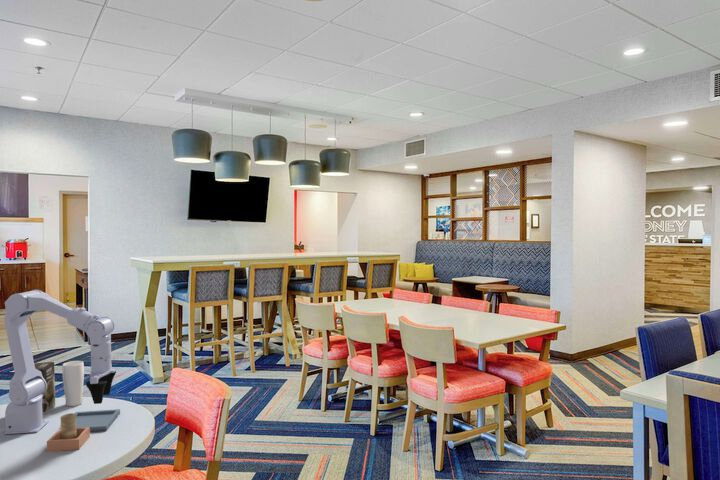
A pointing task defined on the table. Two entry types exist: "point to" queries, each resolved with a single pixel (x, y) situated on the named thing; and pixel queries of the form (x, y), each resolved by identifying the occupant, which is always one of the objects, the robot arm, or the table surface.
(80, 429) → the hollow square frame
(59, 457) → the table surface
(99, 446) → the table surface
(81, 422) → the slate tray
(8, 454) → the table surface
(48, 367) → the coffee box
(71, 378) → the white cylindrical piece
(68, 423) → the maple peg
